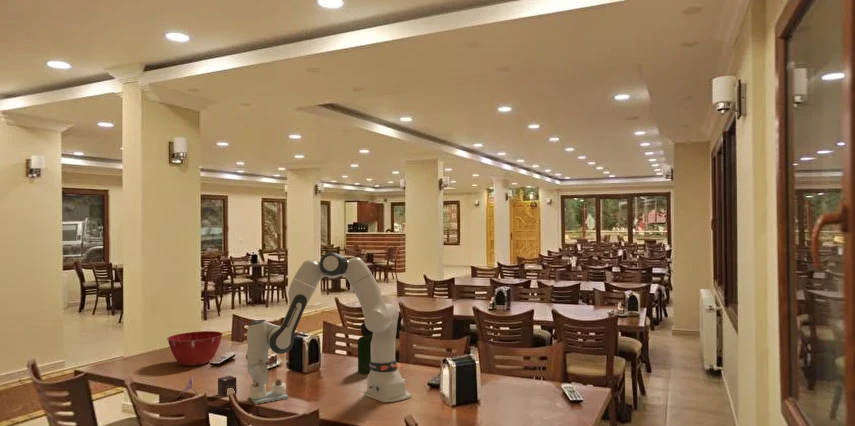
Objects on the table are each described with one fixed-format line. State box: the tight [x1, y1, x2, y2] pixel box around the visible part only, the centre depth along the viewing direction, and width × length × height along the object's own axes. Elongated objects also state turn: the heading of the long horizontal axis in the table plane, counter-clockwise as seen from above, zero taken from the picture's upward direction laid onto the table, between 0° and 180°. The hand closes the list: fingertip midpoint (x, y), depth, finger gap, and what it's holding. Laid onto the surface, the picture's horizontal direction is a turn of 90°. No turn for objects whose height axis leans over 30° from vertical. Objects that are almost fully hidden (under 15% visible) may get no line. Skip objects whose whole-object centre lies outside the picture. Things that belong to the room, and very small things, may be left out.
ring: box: [249, 383, 267, 399], centre depth 237 cm, size 6×6×5 cm
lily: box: [176, 375, 199, 399], centre depth 245 cm, size 12×12×10 cm
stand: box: [248, 378, 289, 405], centre depth 240 cm, size 11×15×7 cm
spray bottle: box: [357, 321, 373, 375], centre depth 281 cm, size 10×10×25 cm
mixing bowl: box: [167, 330, 223, 367], centre depth 304 cm, size 28×28×16 cm
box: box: [217, 375, 237, 397], centre depth 247 cm, size 6×6×7 cm
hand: (258, 389), depth 237 cm, fingers open, 7 cm apart
